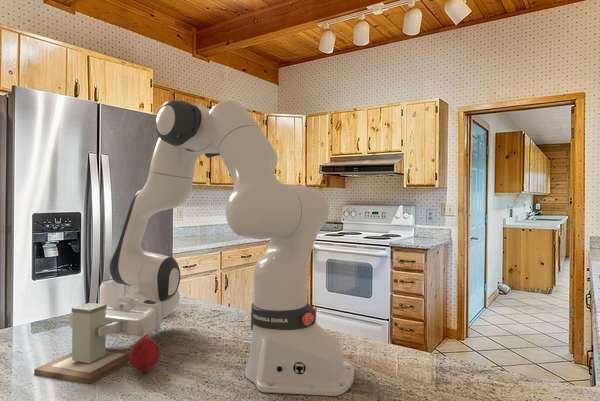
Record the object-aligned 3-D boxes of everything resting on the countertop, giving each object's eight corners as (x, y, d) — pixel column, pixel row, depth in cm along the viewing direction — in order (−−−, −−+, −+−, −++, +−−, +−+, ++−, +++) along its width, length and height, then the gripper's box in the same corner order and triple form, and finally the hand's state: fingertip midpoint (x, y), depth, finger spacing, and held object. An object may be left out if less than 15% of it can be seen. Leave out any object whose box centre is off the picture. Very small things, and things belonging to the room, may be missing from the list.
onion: (141, 381, 79) (141, 340, 79) (123, 374, 82) (123, 335, 82) (165, 371, 84) (165, 332, 84) (147, 364, 87) (147, 327, 87)
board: (138, 356, 91) (138, 351, 91) (90, 383, 78) (90, 378, 78) (88, 349, 95) (88, 344, 95) (34, 374, 82) (34, 368, 82)
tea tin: (106, 354, 88) (106, 304, 88) (89, 363, 84) (89, 310, 84) (88, 352, 90) (89, 302, 90) (71, 360, 85) (71, 308, 85)
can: (114, 326, 113) (114, 283, 112) (94, 324, 114) (94, 282, 114) (128, 319, 119) (129, 278, 119) (109, 318, 120) (109, 277, 120)
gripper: (96, 297, 102) (47, 311, 89) (166, 303, 96) (125, 320, 83) (96, 321, 102) (47, 340, 89) (166, 330, 96) (125, 351, 83)
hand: (86, 330), depth 86 cm, fingers closed on tea tin, 4 cm apart
